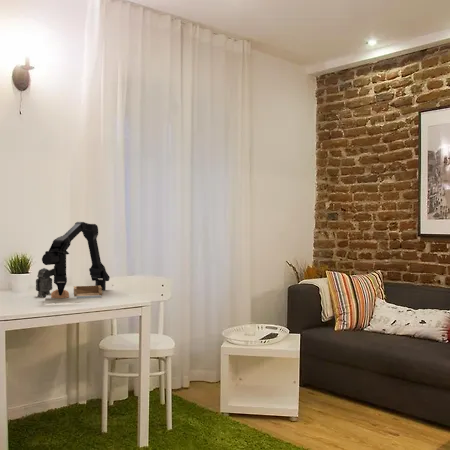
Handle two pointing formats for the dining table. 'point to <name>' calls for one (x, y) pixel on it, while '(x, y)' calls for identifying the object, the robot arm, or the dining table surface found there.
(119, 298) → the dining table surface
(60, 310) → the dining table surface
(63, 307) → the dining table surface
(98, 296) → the tailgate
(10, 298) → the dining table surface
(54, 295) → the yam
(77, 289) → the crate
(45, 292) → the toy
